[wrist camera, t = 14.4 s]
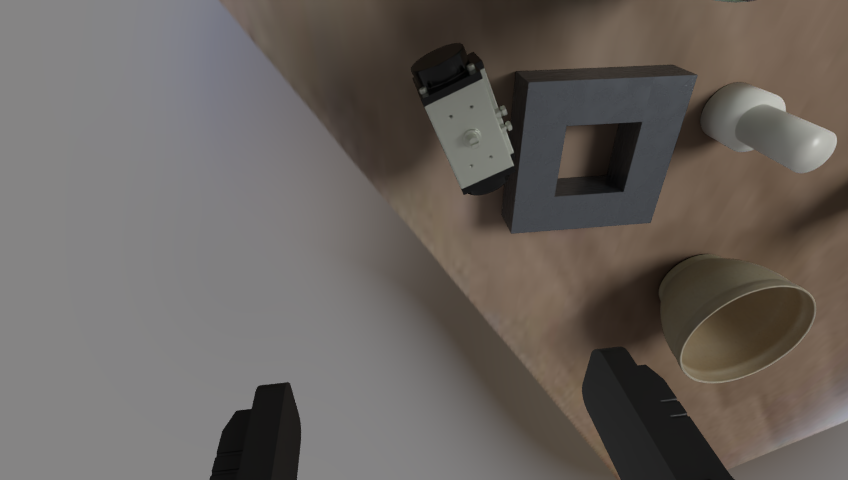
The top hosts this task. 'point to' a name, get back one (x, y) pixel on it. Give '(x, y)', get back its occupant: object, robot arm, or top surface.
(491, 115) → the pneumatic valve
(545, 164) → the bore block
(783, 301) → the planter bowl
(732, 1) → the mint green blender
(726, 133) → the white stepped cylindrical peg
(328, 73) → the top surface
